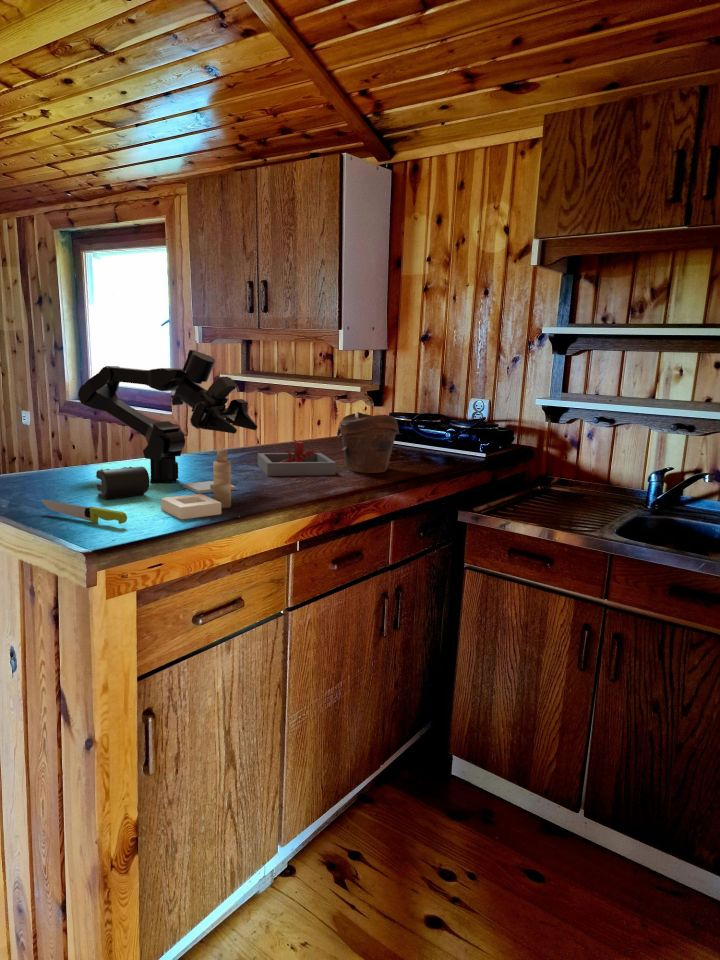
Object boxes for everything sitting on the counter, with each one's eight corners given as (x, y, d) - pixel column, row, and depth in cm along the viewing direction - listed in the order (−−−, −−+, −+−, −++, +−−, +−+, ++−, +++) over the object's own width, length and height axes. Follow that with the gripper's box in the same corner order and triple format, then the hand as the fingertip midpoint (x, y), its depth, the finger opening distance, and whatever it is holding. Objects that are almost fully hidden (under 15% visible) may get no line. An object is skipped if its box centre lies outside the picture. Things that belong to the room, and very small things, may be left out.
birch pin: (214, 508, 137) (214, 451, 135) (212, 504, 141) (212, 449, 138) (231, 507, 138) (231, 451, 136) (230, 503, 142) (230, 449, 139)
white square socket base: (161, 509, 134) (161, 498, 134) (200, 504, 140) (200, 493, 139) (180, 519, 127) (180, 507, 126) (221, 514, 132) (221, 502, 132)
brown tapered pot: (350, 461, 207) (352, 407, 203) (406, 468, 198) (409, 412, 195) (323, 470, 191) (325, 411, 187) (383, 478, 183) (386, 416, 179)
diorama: (282, 463, 195) (283, 436, 194) (319, 466, 192) (319, 439, 191) (268, 468, 185) (269, 440, 183) (307, 472, 182) (307, 443, 180)
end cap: (107, 502, 139) (106, 472, 138) (95, 496, 144) (93, 467, 143) (150, 497, 146) (149, 468, 144) (137, 491, 151) (136, 464, 149)
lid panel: (183, 487, 158) (182, 480, 157) (219, 483, 164) (219, 476, 164) (198, 493, 151) (198, 486, 150) (236, 489, 157) (236, 482, 157)
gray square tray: (267, 475, 177) (267, 463, 176) (257, 464, 195) (257, 453, 194) (335, 474, 183) (336, 462, 182) (320, 464, 201) (320, 452, 200)
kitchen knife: (38, 513, 127) (37, 499, 126) (44, 512, 128) (43, 498, 128) (123, 529, 118) (122, 513, 118) (128, 527, 119) (127, 512, 119)
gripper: (186, 369, 145) (237, 402, 141) (231, 369, 162) (278, 399, 158) (169, 411, 149) (219, 445, 145) (215, 407, 166) (261, 437, 162)
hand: (246, 430), depth 152 cm, fingers open, 9 cm apart
